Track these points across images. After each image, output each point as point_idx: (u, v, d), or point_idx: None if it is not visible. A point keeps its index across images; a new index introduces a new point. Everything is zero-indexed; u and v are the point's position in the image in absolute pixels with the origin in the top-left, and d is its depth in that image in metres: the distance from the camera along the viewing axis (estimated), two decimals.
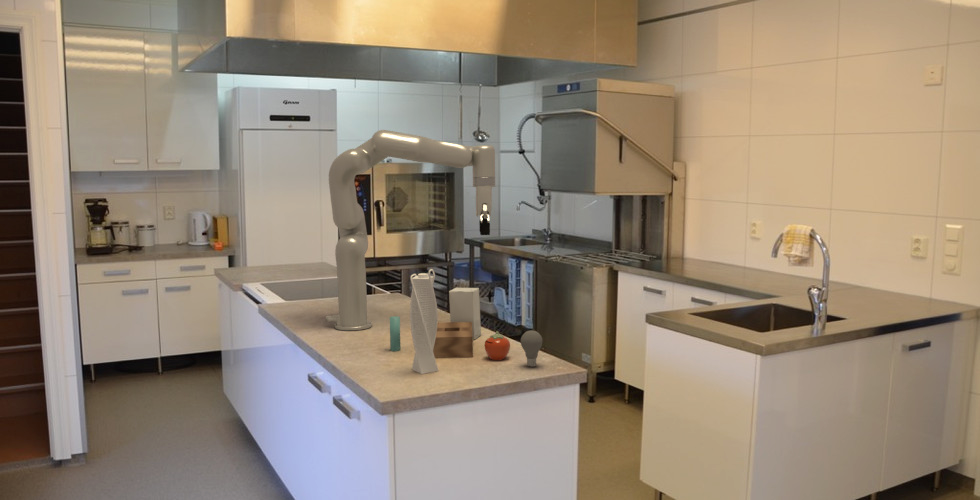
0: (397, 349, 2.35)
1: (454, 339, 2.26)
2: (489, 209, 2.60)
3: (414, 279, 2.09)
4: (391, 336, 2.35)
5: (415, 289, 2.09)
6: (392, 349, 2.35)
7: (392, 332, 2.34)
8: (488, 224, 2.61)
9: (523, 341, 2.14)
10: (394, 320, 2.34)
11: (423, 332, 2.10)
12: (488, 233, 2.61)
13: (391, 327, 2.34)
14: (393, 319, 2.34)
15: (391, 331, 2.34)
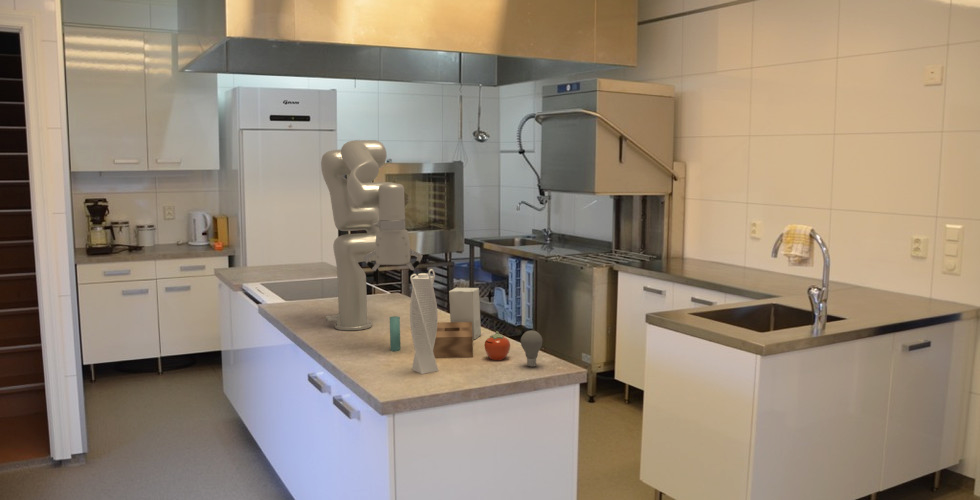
0: (397, 349, 2.35)
1: (454, 339, 2.26)
2: None
3: (414, 279, 2.09)
4: (391, 336, 2.35)
5: (415, 289, 2.09)
6: (392, 349, 2.35)
7: (392, 332, 2.34)
8: None
9: (523, 341, 2.14)
10: (394, 320, 2.34)
11: (423, 332, 2.10)
12: None
13: (391, 327, 2.34)
14: (393, 319, 2.34)
15: (391, 331, 2.34)
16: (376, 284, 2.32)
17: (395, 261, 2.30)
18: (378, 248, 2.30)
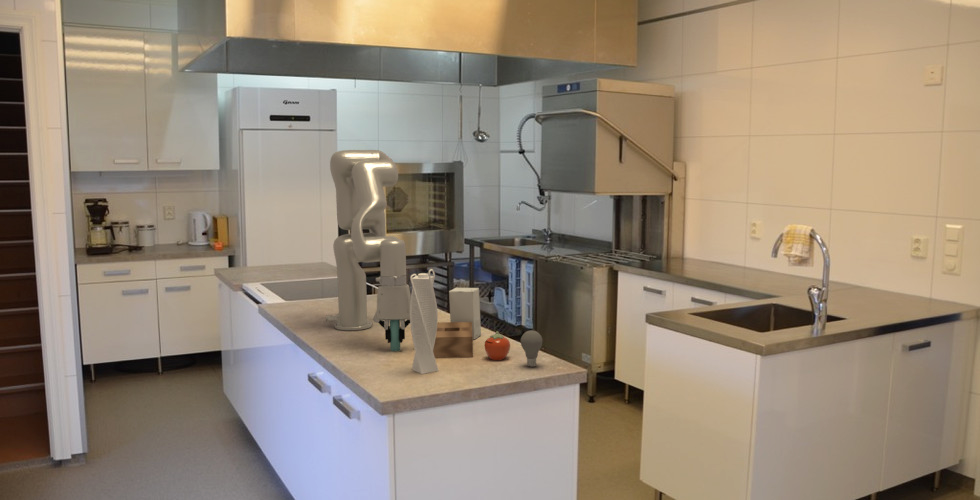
0: (397, 349, 2.35)
1: (454, 339, 2.26)
2: None
3: (414, 279, 2.09)
4: (391, 336, 2.35)
5: (415, 289, 2.09)
6: (392, 349, 2.35)
7: (392, 332, 2.34)
8: None
9: (523, 341, 2.14)
10: (394, 320, 2.34)
11: (423, 332, 2.10)
12: (402, 339, 2.37)
13: (391, 327, 2.34)
14: None
15: (391, 331, 2.34)
16: (388, 342, 2.35)
17: (396, 316, 2.32)
18: (379, 303, 2.32)
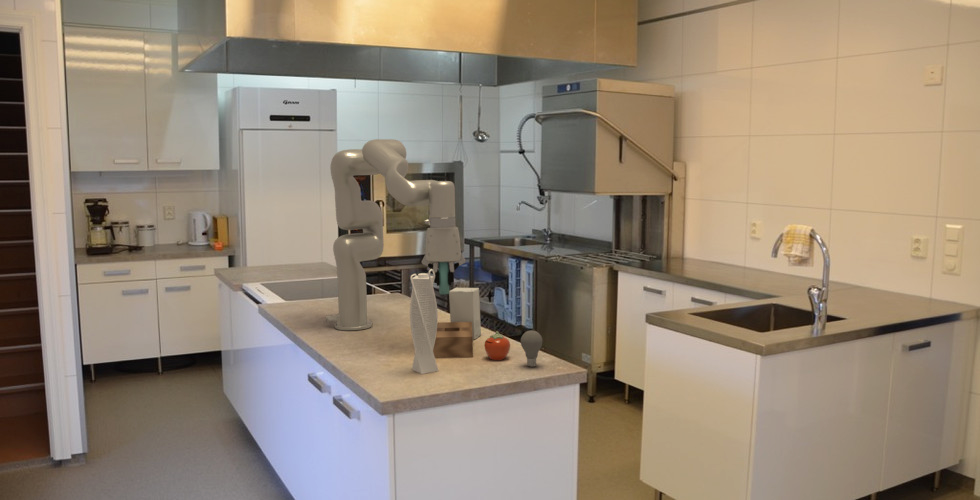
0: (446, 292, 2.33)
1: (454, 339, 2.26)
2: None
3: (414, 279, 2.09)
4: (440, 279, 2.33)
5: (415, 289, 2.09)
6: (441, 292, 2.33)
7: (441, 275, 2.33)
8: None
9: (523, 341, 2.14)
10: (443, 263, 2.32)
11: (423, 332, 2.10)
12: None
13: (440, 270, 2.32)
14: (442, 262, 2.32)
15: (440, 274, 2.33)
16: (437, 285, 2.33)
17: (446, 258, 2.31)
18: (429, 245, 2.30)
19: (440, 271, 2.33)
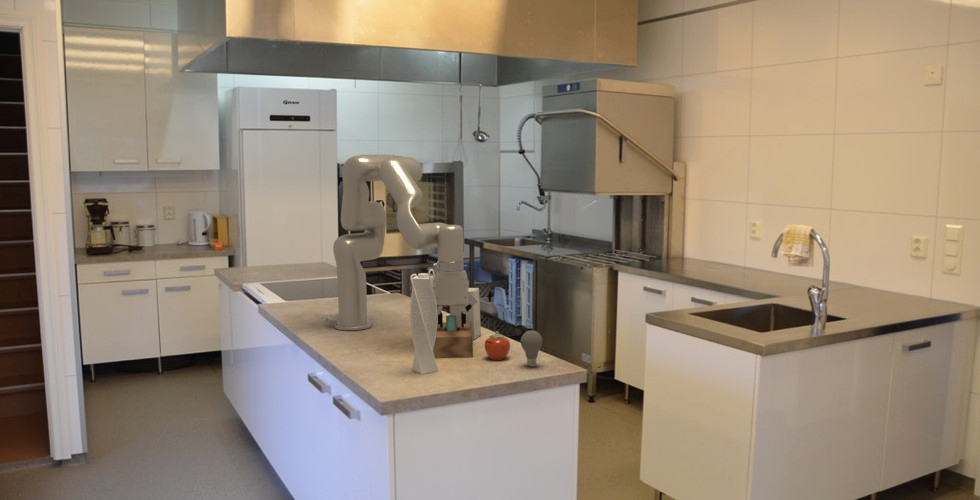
0: None
1: (454, 339, 2.26)
2: None
3: (414, 279, 2.09)
4: None
5: (415, 289, 2.09)
6: None
7: None
8: None
9: (523, 341, 2.14)
10: (451, 319, 2.34)
11: (423, 332, 2.10)
12: None
13: (448, 326, 2.35)
14: (450, 318, 2.34)
15: (448, 330, 2.35)
16: (440, 327, 2.35)
17: (454, 302, 2.32)
18: (437, 289, 2.32)
19: (448, 327, 2.35)
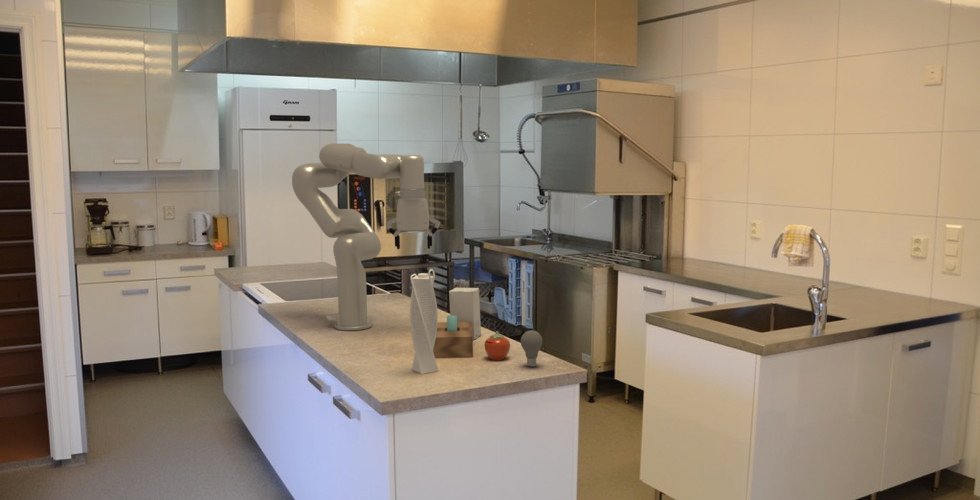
0: None
1: (454, 339, 2.26)
2: None
3: (414, 279, 2.09)
4: None
5: (415, 289, 2.09)
6: None
7: None
8: None
9: (523, 341, 2.14)
10: (452, 319, 2.34)
11: (423, 332, 2.10)
12: None
13: (448, 326, 2.35)
14: (451, 318, 2.34)
15: (448, 330, 2.35)
16: None
17: (415, 227, 2.47)
18: (399, 215, 2.47)
19: (448, 327, 2.35)
